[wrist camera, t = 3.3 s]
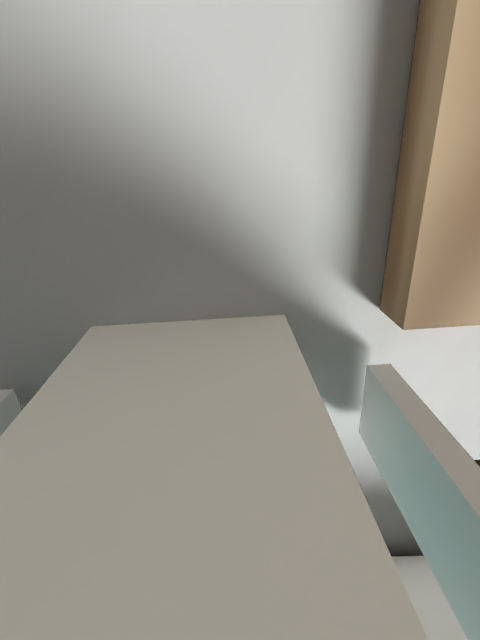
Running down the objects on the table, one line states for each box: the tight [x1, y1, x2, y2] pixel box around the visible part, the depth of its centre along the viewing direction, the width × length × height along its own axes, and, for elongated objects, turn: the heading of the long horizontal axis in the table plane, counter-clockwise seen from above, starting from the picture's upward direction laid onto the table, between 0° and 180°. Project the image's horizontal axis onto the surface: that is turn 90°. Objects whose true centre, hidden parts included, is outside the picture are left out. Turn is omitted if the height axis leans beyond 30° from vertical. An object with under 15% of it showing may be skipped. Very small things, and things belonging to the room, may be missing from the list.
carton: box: [0, 315, 428, 640], centre depth 8 cm, size 6×6×9 cm
